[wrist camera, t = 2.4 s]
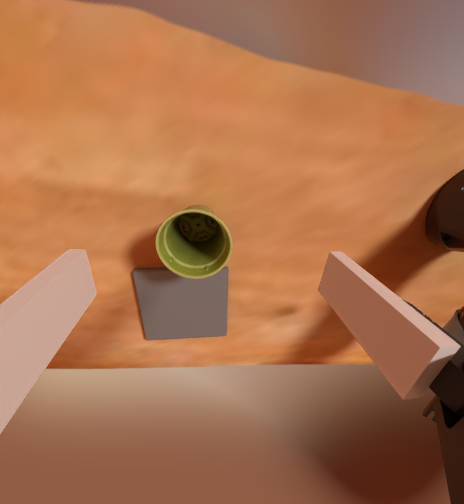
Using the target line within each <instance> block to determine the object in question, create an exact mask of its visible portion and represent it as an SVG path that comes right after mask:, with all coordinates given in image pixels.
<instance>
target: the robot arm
mask: <svg viewBox="0 0 464 504" xmlns="http://www.w3.org/2000/svg"><path fill="white" fill-rule="evenodd" d="M426 231H427V234H428V236H429V238H430V239H431V241H432V242H434V243H435V244H437V245H439V246H442V247H444V248H446V249H449V250H452V251H458V252H464V170H463V171H462V172H460V173H459V174H457V175H456V176H455V177H454V178H452V179H451V180H450V181H449V182H448V183H447V184H446V185H445V186H444V187H443V188H442V190H441V191H440V192H439V193H438V195H437V196H436V198H435V199H434V201H433V203H432V205H431V207H430V209H429V212H428V215H427V219H426ZM318 291H319V292H320V293H321V295H322V296H323V297H324V298H325V300H326V301H327V302H328V304H329V305H330V306H331V307H332V309H333V310H334V311H335V313H336V314H337V315H338V316H339V318H340V319H341V320H342V322H343V323H344V324H345V326H346V327H347V328H348V329H349V331H350V332H351V333H352V335H353V336H354V337H355V338H356V340H357V341H358V342H359V344H360V345H361V346H362V347H363V349H364V350H365V351H366V353H367V354H368V355H369V356H370V358H371V359H372V360H373V362H374V363H375V364H376V365H377V367H378V368H379V369H380V371H381V372H382V373H383V374H384V375H385V377H386V378H387V380H388V381H389V382H390V384H391V385H392V386H393V387H394V389H395V390H396V391H397V393H398V394H399V395H400V396H401V398H402V399H413V398H421V397H422V396H423V394H424V393H425V392H426V391H427V389H428V388H429V387H430V389H431V390H432V391H433V392H434V393H435V394H436V396H435V397H434V398H433V400H432V401H431V402H430V403H429V404H428V406H427V407H426V408H425V409H424V411H423V416H425V417H427V416H428V415H429V414H430V412H431V411H434V413H435V416H434V417H433V418H432V420H433V421H435V422H436V424H437V430H438V435H439V441H440V446H441V452H442V457H443V462H444V468H445V473H446V479H447V484H448V490H449V495H450V501H451V504H464V306H463V307H462V308H461V309H458V310H456V312H455V313H454V316H453V317H452V318H451V319H450V320H449V321H448V323H447V324H446V325H445V326H444V327H443V328H441V327H440V326H439V325H438V324H436V323H435V322H432V320H431V319H430V318H429V317H427V316H426V315H423V313H422V312H421V311H420V310H418V309H417V308H416V307H415V306H413V305H412V304H410V303H408V302H406V301H405V300H403V299H401V298H400V297H398V296H397V295H396V294H395V293H393V292H392V291H391V290H389V289H388V288H387V287H386V286H384V285H383V284H382V283H381V282H379V281H378V280H377V279H376V278H374V277H373V276H372V275H371V274H369V273H368V272H367V271H366V270H364V269H363V268H362V267H360V266H359V265H358V264H357V263H355V262H354V261H353V260H352V259H350V258H349V257H348V256H347V255H345V254H344V253H343V252H329V255H328V259H327V262H326V265H325V268H324V272H323V275H322V278H321V282H320V285H319V288H318ZM96 295H97V292H96V288H95V284H94V280H93V277H92V273H91V269H90V265H89V261H88V257H87V254H86V250H85V249H68V250H67V251H66V252H65V253H63V254H62V255H61V256H60V257H58V258H57V259H56V260H55V261H54V262H52V263H51V264H50V265H49V266H47V267H46V268H45V269H44V270H42V271H41V272H40V273H39V274H37V275H36V276H35V277H34V278H32V279H31V280H30V281H29V282H28V283H26V284H25V285H24V286H23V287H21V288H20V289H19V290H18V291H16V292H15V293H14V294H13V295H11V296H10V297H9V298H8V299H6V300H5V301H4V302H3V303H1V304H0V434H1V432H2V431H3V429H4V428H5V426H6V425H7V423H8V422H9V421H10V419H11V418H12V416H13V415H14V413H15V412H16V410H17V409H18V407H19V406H20V405H21V403H22V402H23V400H24V399H25V398H26V396H27V395H28V393H29V392H30V390H31V389H32V387H33V386H34V384H35V383H36V382H37V380H38V378H39V377H40V376H41V374H42V373H43V371H44V370H45V369H46V367H47V366H48V364H49V363H50V361H51V360H52V358H53V357H54V356H55V354H56V353H57V351H58V350H59V348H60V347H61V345H62V344H63V343H64V341H65V340H66V338H67V337H68V335H69V334H70V332H71V331H72V329H73V328H74V327H75V325H76V324H77V322H78V321H79V319H80V318H81V316H82V315H83V314H84V312H85V311H86V309H87V308H88V306H89V305H90V303H91V302H92V301H93V299H94V298H95V296H96Z"/></svg>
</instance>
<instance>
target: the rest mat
mask: <svg viewBox="0 0 464 504" xmlns="http://www.w3.org/2000/svg"><path fill="white" fill-rule="evenodd" d="M133 277H134V282H135V287H136V291H137V296H138V301H139V306H140V311H141V316H142V321H143V326H144V331H145V336H146V341H147V340H165V339H183V338H201V337H219V336H226V335H227V300H228V267H223V268H222V269H221V270H220V271H219V272H217V273H216V274H214V275H212V276H209V277H206V278H200V279H192V278H186V277H182V276H180V275H178V274H176V273H174V272H172V271H171V270H170V269H168V268H151V269H134V270H133Z"/></svg>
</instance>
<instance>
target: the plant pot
mask: <svg viewBox="0 0 464 504" xmlns="http://www.w3.org/2000/svg"><path fill="white" fill-rule="evenodd" d="M211 217H212V218H213V219H214V224H212V220H211ZM198 223H199V224H200V226H197V224H198ZM183 224H184V225H185V229H186V230H187V232H185V231H184V230H183V227H182V225H183ZM206 235H207V237H206V238H203V239H200V238H199V237H204V236H206ZM155 243H156V250H157V253H158V256H159V258H160V259H161V261H162V262H163V264H164V265H165V266H166V267H167V268H168V269H170V270H171V271H172V272H174V273H176V274H178V275H180V276H182V277H186V278H192V279H200V278H206V277H209V276H212V275H214V274H216V273H217V272H219V271H220V270H221V269H222V268H223V267H224V266H225V265H226V264H227V262H228V260H229V259H230V256H231V254H232V246H233V245H232V238H231V234H230V232H229V230H228V228H227V227H226V225H225V224H224V223H223V222H222V221H221V220H220V219H219V218H218V217H216V216H215V214H214V213H213V212H212V211H211V210H210V209H208V208H206V207H204V206H200V205H194V206H190V207H188V208H186V209H185V210H182V211H179V212H176V213H174V214H172V215H171V216H169V217H168V218H167V219H166V220H165V221H164V222H163V223H162V224H161V226H160V228H159V229H158V232H157V235H156V242H155Z"/></svg>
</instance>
